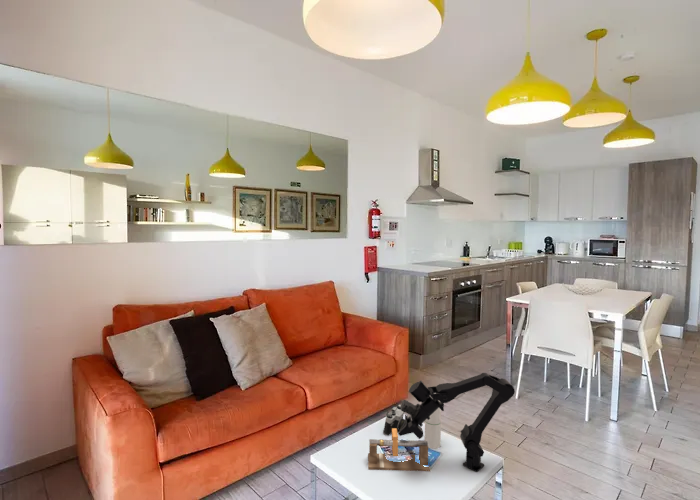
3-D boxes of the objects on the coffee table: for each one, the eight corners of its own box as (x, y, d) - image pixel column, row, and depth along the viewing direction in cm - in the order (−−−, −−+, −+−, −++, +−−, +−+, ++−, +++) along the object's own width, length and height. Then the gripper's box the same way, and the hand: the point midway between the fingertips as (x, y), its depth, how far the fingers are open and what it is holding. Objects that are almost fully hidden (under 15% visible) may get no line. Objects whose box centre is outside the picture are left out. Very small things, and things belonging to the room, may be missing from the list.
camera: (400, 442, 179) (404, 423, 177) (380, 432, 184) (383, 412, 183) (412, 429, 191) (416, 411, 190) (393, 419, 197) (397, 401, 195)
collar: (396, 446, 164) (396, 428, 163) (397, 456, 157) (398, 436, 156) (391, 446, 164) (391, 428, 163) (392, 456, 157) (393, 436, 156)
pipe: (426, 445, 161) (426, 439, 161) (427, 448, 158) (427, 442, 158) (369, 443, 162) (369, 437, 162) (369, 447, 159) (369, 441, 159)
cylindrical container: (439, 440, 178) (440, 387, 177) (441, 449, 171) (442, 393, 170) (423, 439, 179) (424, 386, 178) (425, 448, 172) (426, 393, 171)
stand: (426, 457, 165) (426, 437, 164) (430, 471, 155) (430, 450, 154) (368, 455, 166) (368, 436, 165) (368, 469, 156) (368, 449, 155)
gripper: (409, 386, 168) (384, 410, 169) (415, 405, 150) (386, 432, 150) (427, 404, 168) (401, 428, 169) (435, 425, 150) (406, 452, 150)
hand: (398, 434), depth 160 cm, fingers closed
